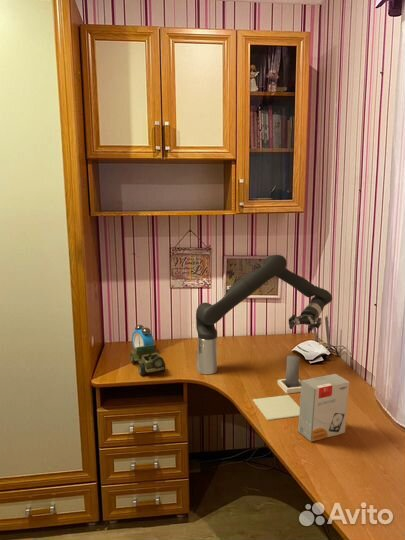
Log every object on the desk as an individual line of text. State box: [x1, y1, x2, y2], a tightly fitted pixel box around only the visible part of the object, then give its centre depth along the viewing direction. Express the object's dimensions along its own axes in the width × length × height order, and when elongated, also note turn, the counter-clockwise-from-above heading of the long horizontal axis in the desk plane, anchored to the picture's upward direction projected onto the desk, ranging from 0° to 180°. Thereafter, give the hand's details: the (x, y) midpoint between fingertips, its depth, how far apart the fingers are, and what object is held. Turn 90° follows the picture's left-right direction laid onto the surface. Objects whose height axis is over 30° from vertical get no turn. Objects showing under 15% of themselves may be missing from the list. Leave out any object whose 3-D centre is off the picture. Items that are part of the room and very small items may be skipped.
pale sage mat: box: [252, 394, 300, 421], centre depth 168 cm, size 16×16×1 cm
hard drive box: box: [298, 373, 350, 443], centre depth 149 cm, size 16×8×20 cm, turn 114°
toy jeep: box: [129, 344, 167, 376], centre depth 205 cm, size 12×25×11 cm, turn 24°
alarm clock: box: [131, 324, 155, 349], centre depth 224 cm, size 13×6×15 cm, turn 40°
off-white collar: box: [277, 378, 302, 395], centre depth 185 cm, size 10×10×2 cm
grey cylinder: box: [285, 354, 301, 388], centre depth 184 cm, size 6×6×14 cm
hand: (299, 328), depth 189 cm, fingers open, 8 cm apart
